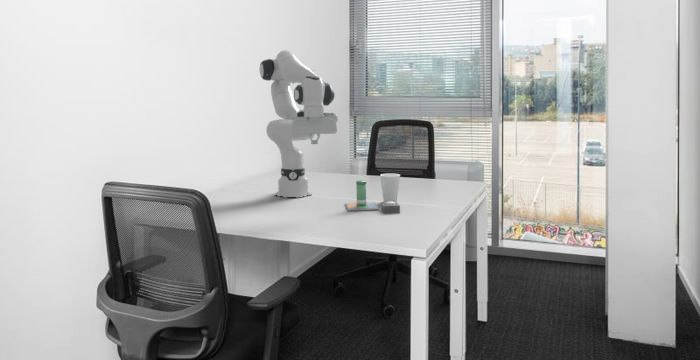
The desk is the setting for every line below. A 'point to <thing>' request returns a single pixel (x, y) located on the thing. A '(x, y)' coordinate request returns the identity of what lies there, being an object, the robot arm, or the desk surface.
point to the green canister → (361, 193)
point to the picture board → (361, 207)
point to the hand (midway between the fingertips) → (314, 144)
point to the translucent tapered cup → (390, 186)
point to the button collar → (390, 208)
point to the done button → (390, 203)
